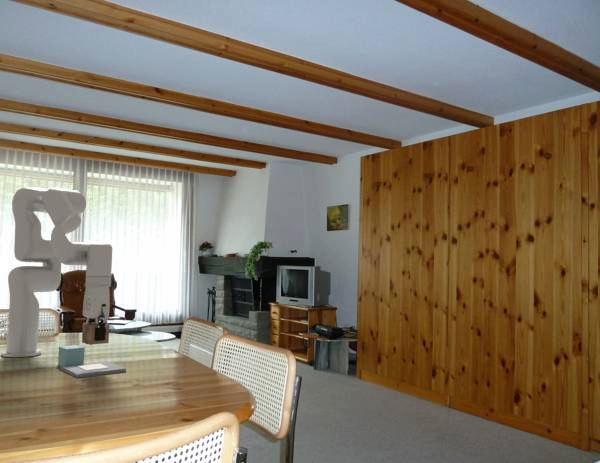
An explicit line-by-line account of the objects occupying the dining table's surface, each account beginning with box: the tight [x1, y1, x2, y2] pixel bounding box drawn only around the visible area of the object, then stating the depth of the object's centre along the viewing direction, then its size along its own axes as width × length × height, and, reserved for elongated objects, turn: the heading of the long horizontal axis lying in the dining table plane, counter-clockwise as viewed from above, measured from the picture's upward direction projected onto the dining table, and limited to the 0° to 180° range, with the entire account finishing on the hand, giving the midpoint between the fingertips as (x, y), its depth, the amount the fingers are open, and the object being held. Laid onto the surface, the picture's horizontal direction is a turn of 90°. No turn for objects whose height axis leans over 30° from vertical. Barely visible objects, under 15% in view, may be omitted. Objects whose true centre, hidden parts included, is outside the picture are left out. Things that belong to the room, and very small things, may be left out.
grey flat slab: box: [59, 360, 127, 379], centre depth 162 cm, size 14×15×1 cm
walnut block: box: [81, 322, 110, 346], centre depth 163 cm, size 6×6×6 cm
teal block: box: [57, 344, 85, 367], centre depth 169 cm, size 6×6×6 cm
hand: (95, 338), depth 163 cm, fingers closed on walnut block, 6 cm apart
